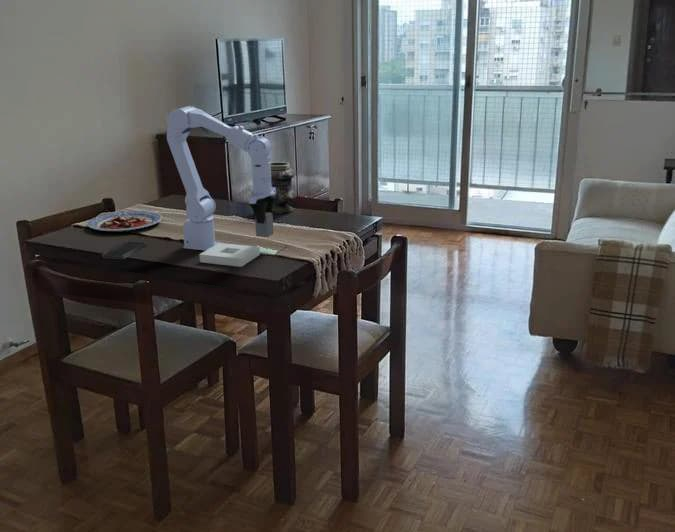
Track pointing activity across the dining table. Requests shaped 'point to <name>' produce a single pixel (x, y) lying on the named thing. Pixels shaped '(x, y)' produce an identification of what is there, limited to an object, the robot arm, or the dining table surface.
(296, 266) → the dining table surface
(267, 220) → the plug
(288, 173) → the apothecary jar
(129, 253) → the phone
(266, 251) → the pad
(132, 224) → the ceramic plate
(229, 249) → the white board with hole
